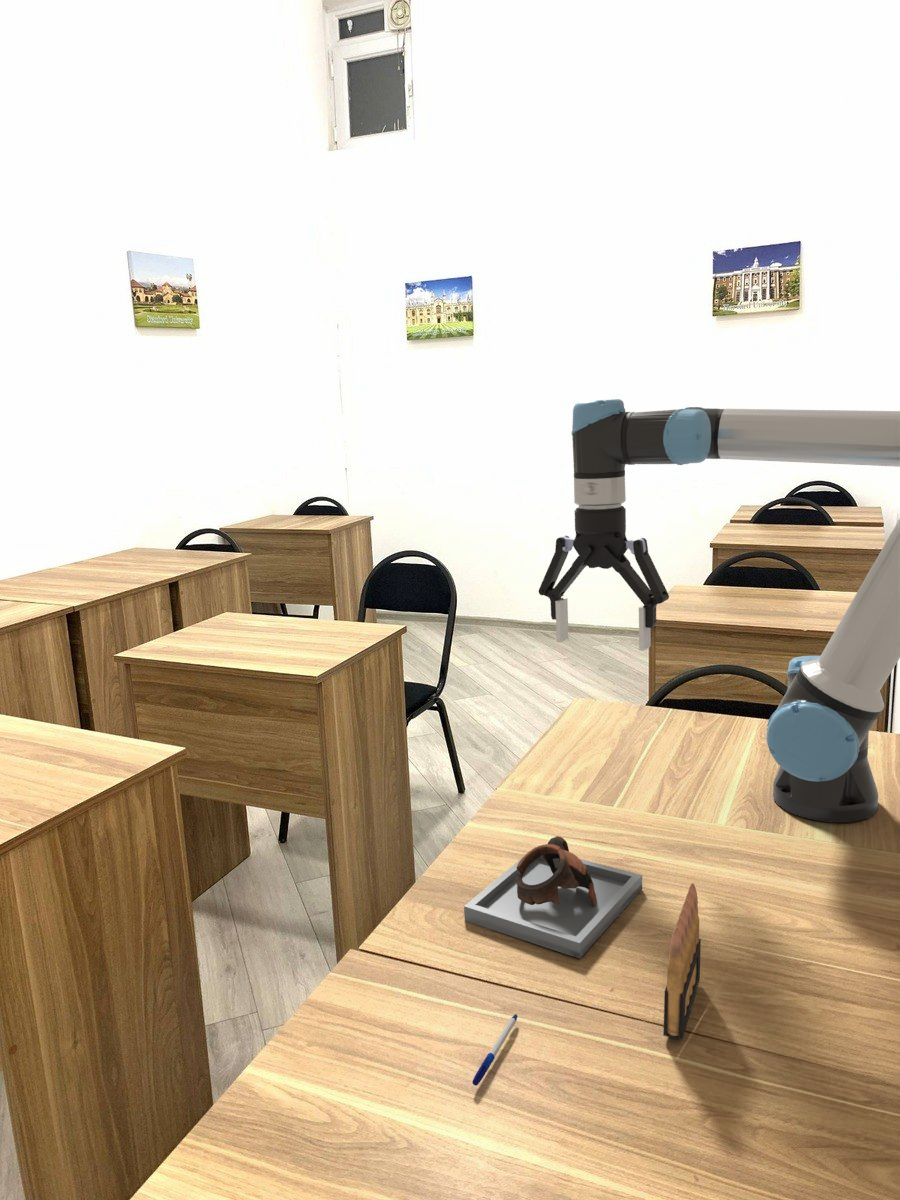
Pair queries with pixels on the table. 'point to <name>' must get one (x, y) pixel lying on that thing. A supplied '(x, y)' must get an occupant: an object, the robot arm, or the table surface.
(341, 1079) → the table surface
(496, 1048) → the ballpoint pen
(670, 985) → the ammunition clip
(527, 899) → the broken brown clay pot
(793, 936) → the table surface
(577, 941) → the tray
